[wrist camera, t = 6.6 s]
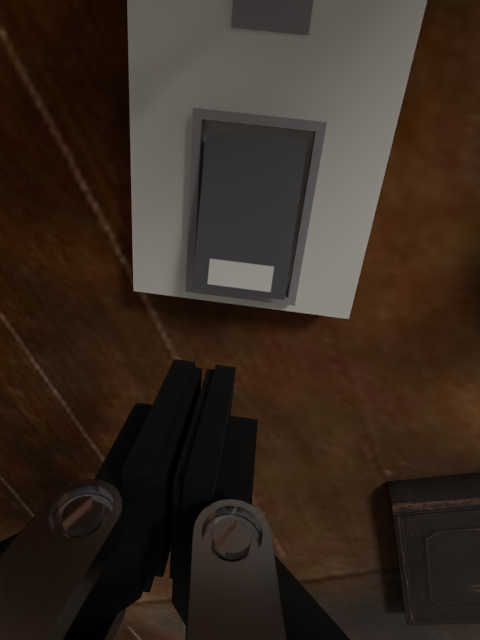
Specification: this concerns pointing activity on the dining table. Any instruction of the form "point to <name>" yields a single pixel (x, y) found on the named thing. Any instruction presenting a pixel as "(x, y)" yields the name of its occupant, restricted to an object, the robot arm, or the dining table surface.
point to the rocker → (248, 213)
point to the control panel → (265, 127)
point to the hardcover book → (438, 547)
